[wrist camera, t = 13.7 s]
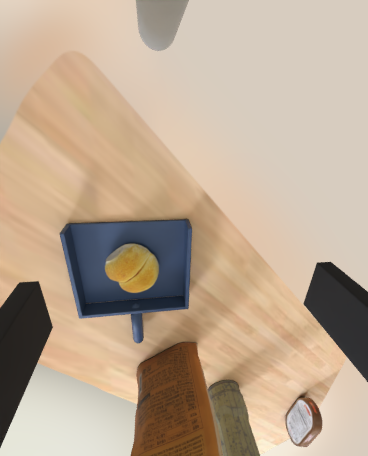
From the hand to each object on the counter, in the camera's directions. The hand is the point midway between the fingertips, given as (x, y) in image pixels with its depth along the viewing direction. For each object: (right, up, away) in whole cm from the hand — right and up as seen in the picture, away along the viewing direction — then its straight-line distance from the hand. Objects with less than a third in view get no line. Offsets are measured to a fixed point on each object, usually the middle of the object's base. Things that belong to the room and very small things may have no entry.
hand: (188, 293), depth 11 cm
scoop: (-9, -7, +32) cm, 34 cm away
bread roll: (-9, -3, +30) cm, 31 cm away
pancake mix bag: (-5, -26, +42) cm, 50 cm away
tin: (+34, -51, +61) cm, 87 cm away
